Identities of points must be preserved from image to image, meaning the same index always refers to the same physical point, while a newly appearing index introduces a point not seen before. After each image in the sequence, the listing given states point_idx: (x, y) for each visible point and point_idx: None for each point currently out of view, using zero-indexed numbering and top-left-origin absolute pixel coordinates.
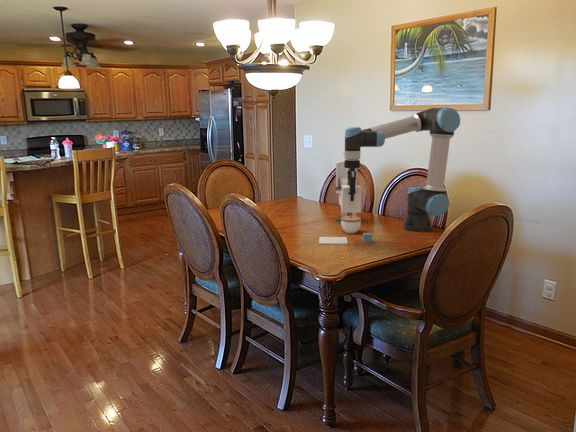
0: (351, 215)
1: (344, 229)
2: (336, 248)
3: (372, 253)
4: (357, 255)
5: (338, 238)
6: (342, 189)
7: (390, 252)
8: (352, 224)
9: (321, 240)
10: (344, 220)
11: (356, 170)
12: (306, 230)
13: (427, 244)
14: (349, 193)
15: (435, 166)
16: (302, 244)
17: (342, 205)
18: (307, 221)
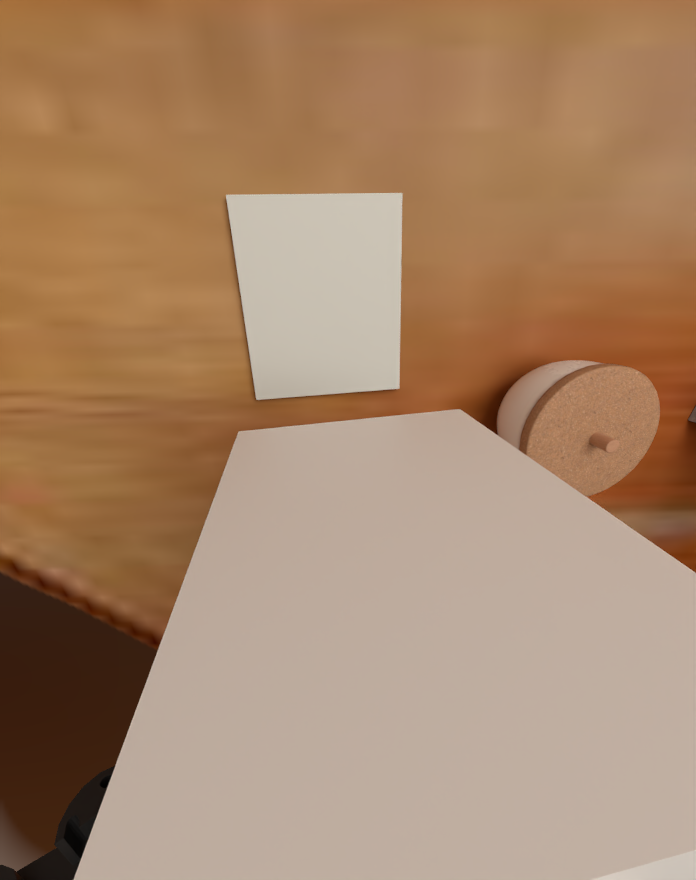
0: (604, 448)
1: (521, 377)
2: (154, 329)
3: (106, 521)
4: (37, 454)
5: (365, 339)
6: (261, 790)
7: (150, 589)
8: (510, 438)
9: (307, 214)
10: (550, 392)
11: None
12: (629, 73)
13: None
14: (81, 828)
15: None
16: (205, 31)
17: (222, 475)
18: None
